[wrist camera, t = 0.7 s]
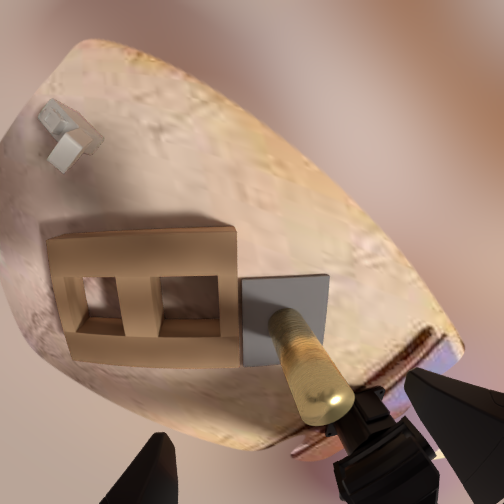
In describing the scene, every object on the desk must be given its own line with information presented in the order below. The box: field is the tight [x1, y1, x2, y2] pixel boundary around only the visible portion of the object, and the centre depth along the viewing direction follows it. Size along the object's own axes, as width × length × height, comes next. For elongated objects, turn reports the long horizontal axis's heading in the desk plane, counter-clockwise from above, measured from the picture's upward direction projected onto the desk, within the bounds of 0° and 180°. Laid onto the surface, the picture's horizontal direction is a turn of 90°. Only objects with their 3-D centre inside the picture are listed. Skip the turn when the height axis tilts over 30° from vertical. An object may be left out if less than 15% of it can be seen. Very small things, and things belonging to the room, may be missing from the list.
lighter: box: [38, 99, 104, 174], centre depth 13 cm, size 7×2×8 cm, turn 45°
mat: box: [242, 275, 330, 367], centre depth 22 cm, size 8×7×1 cm
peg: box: [268, 308, 355, 426], centre depth 17 cm, size 3×3×10 cm
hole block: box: [46, 226, 240, 369], centre depth 19 cm, size 10×14×3 cm
